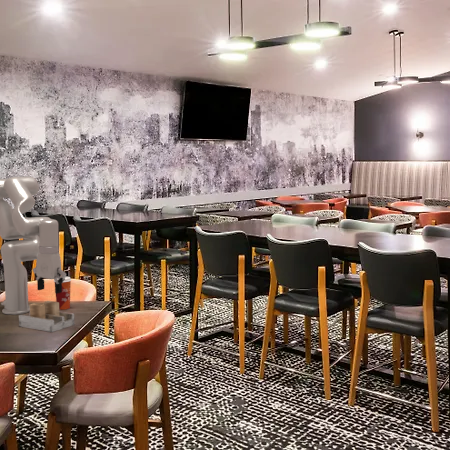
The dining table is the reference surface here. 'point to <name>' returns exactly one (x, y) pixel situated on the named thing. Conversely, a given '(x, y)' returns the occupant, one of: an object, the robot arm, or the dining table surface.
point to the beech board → (51, 308)
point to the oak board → (37, 310)
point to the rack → (47, 321)
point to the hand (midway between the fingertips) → (49, 291)
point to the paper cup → (64, 294)
